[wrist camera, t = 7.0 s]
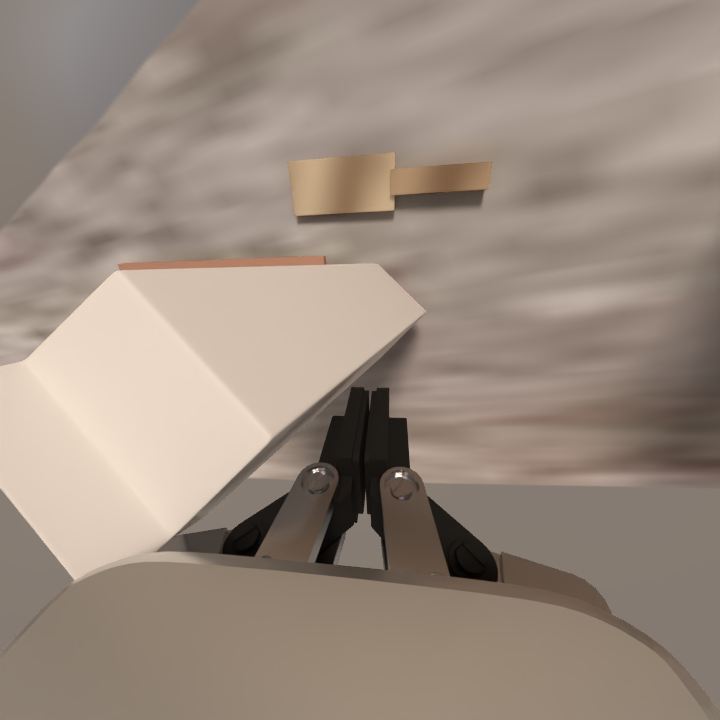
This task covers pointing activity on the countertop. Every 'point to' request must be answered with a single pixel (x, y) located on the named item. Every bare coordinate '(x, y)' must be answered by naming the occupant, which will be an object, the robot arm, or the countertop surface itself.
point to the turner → (374, 182)
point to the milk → (180, 395)
